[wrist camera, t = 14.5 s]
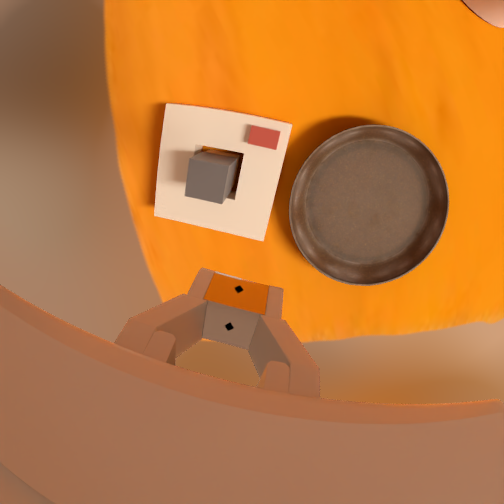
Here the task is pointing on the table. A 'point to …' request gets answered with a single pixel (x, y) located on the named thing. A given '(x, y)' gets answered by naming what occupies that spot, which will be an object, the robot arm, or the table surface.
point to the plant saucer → (369, 205)
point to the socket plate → (229, 138)
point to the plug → (211, 175)
